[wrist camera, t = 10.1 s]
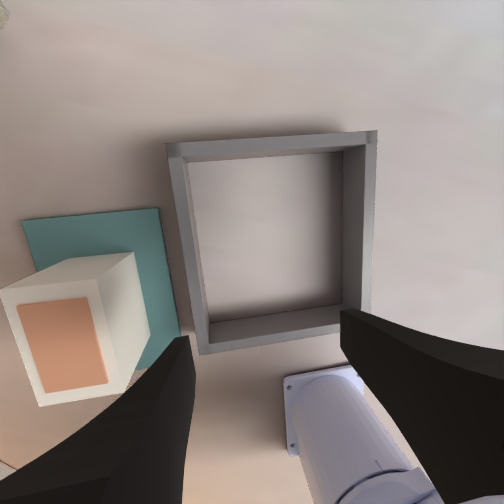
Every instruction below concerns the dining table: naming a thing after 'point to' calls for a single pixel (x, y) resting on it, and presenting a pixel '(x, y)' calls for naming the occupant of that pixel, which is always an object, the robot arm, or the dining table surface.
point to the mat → (111, 242)
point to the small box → (5, 470)
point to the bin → (354, 236)
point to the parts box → (79, 326)
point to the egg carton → (3, 15)
